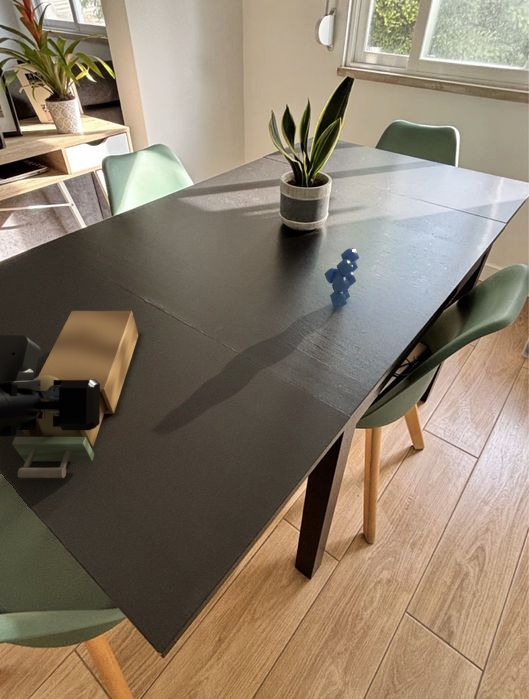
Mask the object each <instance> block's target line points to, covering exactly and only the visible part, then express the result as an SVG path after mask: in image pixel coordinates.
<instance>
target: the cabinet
mask: <svg viewBox="0 0 529 699" xmlns="http://www.w3.org/2000/svg"><path fill="white" fill-rule="evenodd" d="M138 338H139V333H138V328H137V325H136V321H135V317H134V314H133V310H71V312H70V314H69V316H68V318H67V320H66V322H65V323H64V325H63V327H62V329H61V330H60V333H59V336H57V339H56V341H55V343H54V344H53V347H52V349H51V351H50V352H49V354H48V357H47V358H46V361H45V363H44V364H43V366H42V368H41V370H40V372H39V374H38V376H37V377H40V376H53V377H56V378H58V379H59V380H74V379H96V380H97V381H98V382H99V383H100V392H102V395H103V397H104V400H105V402H106V404H107V407H106V410H105V413H104V415H105V414H106V415H114V414H115V411H116V408H117V404H118V402H119V398H120V395H121V392H122V389H123V385H124V383H125V380H126V376H127V373H128V370H129V367H130V363H131V360H132V358H133V354H134V350H135V347H136V345H137V342H138Z"/></svg>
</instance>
